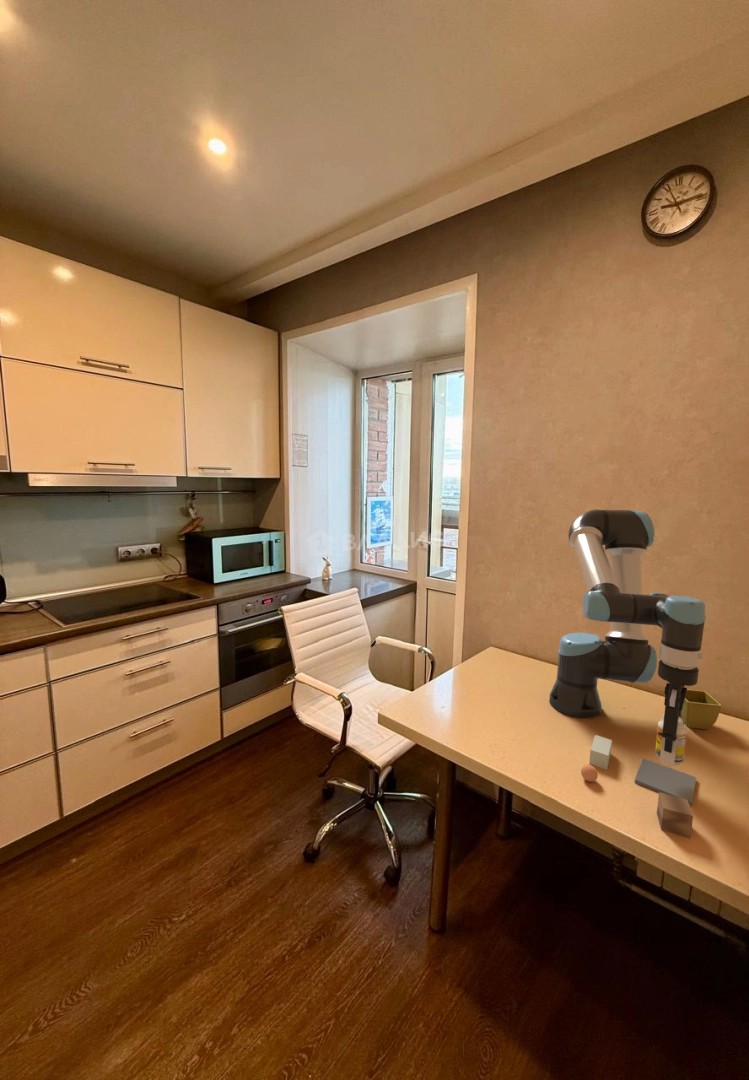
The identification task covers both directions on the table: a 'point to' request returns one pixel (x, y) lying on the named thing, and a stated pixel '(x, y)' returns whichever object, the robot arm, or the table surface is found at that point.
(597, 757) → the sage block
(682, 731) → the supplement bottle
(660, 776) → the slate coaster
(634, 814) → the table surface
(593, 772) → the terracotta ball
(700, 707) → the flower pot
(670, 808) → the walnut cube
